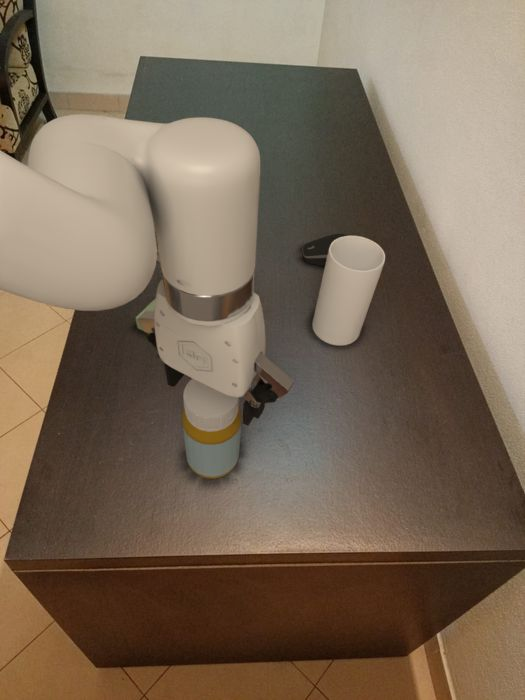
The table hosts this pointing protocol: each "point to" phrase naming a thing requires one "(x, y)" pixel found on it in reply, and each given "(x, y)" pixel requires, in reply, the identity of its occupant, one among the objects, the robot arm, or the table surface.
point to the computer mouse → (319, 249)
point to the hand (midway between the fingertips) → (214, 395)
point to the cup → (347, 288)
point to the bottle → (210, 430)
